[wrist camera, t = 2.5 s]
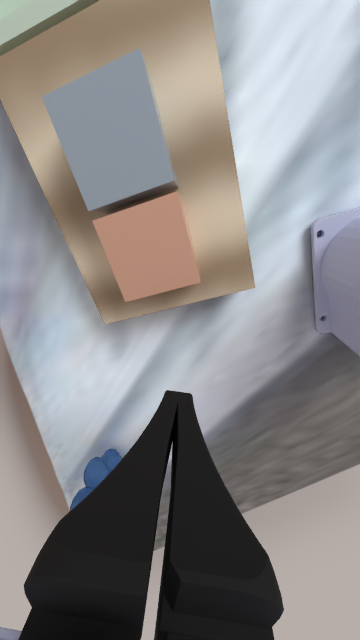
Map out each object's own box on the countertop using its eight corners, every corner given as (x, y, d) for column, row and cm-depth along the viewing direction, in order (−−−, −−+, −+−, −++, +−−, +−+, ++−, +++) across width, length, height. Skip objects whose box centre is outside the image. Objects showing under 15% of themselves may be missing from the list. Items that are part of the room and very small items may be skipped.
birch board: (246, 277, 18) (255, 287, 16) (117, 310, 21) (105, 324, 18) (200, 4, 12) (200, -57, 10) (24, 94, 15) (-16, 65, 12)
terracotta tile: (200, 273, 15) (200, 282, 13) (135, 290, 16) (125, 302, 14) (180, 195, 14) (177, 191, 11) (108, 220, 15) (92, 220, 12)
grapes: (170, 482, 31) (154, 623, 20) (129, 488, 33) (93, 622, 22) (133, 426, 27) (87, 565, 16) (87, 437, 29) (18, 570, 18)
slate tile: (178, 187, 13) (174, 180, 11) (105, 212, 14) (88, 211, 12) (151, 81, 12) (140, 47, 9) (70, 119, 12) (41, 96, 10)
